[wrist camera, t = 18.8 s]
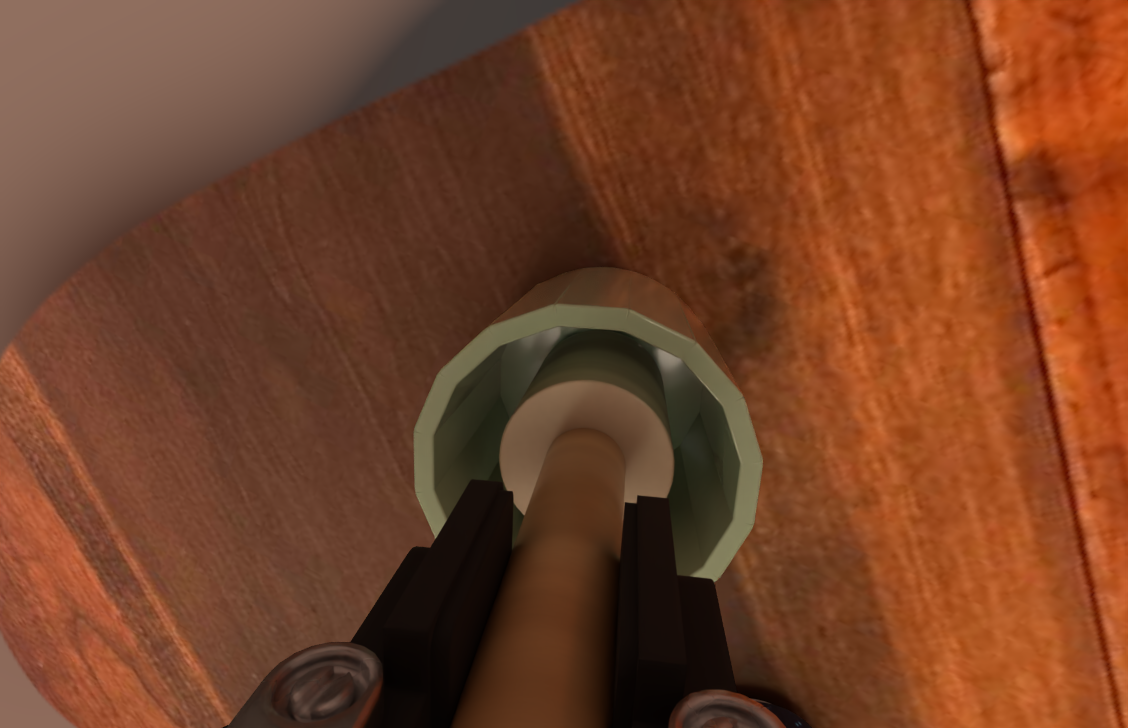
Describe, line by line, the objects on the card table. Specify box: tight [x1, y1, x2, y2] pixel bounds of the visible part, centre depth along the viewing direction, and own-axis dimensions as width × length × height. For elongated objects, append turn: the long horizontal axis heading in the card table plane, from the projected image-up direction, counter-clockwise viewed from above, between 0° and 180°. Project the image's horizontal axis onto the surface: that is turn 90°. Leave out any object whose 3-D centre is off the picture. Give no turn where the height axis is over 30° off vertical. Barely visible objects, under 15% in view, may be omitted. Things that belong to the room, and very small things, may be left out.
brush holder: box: [414, 267, 763, 582], centre depth 18 cm, size 8×8×8 cm
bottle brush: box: [449, 330, 675, 728], centre depth 13 cm, size 4×4×16 cm
